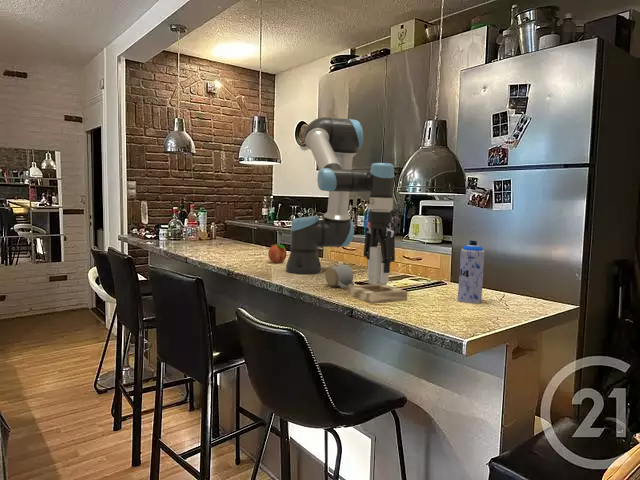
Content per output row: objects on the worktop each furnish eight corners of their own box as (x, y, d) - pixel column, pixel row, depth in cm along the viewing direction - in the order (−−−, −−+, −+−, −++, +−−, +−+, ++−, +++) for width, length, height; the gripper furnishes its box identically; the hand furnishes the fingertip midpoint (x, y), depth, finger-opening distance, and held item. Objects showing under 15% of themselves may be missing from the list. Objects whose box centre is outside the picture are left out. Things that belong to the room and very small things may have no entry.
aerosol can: (452, 298, 158) (455, 239, 156) (470, 297, 161) (474, 239, 159) (468, 304, 151) (472, 242, 149) (487, 302, 154) (491, 241, 152)
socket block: (347, 294, 160) (348, 286, 159) (381, 291, 167) (381, 283, 166) (371, 303, 148) (372, 294, 147) (406, 299, 154) (407, 291, 154)
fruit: (279, 260, 230) (279, 240, 229) (290, 263, 223) (291, 242, 222) (264, 262, 225) (264, 241, 224) (275, 264, 218) (275, 243, 217)
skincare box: (387, 285, 154) (388, 248, 153) (375, 285, 153) (376, 248, 152) (379, 281, 160) (381, 246, 159) (368, 281, 159) (369, 246, 158)
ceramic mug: (323, 285, 174) (324, 264, 173) (339, 283, 179) (340, 263, 178) (342, 291, 166) (343, 269, 165) (359, 288, 171) (360, 267, 170)
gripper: (354, 209, 161) (351, 276, 163) (390, 212, 144) (386, 286, 146) (372, 209, 164) (369, 274, 167) (409, 212, 147) (405, 285, 150)
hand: (377, 280), depth 156 cm, fingers closed on skincare box, 7 cm apart
